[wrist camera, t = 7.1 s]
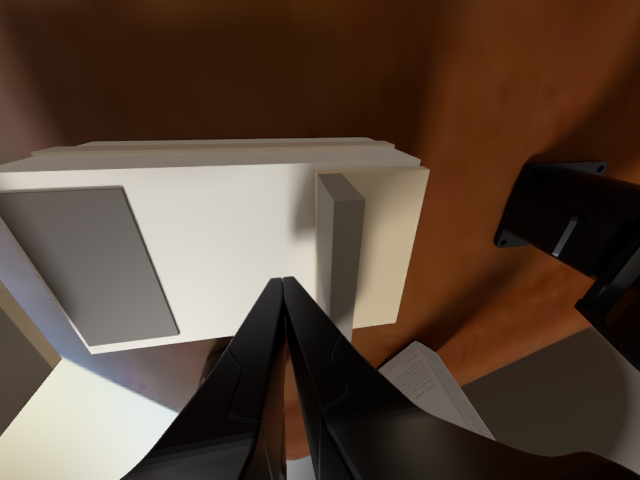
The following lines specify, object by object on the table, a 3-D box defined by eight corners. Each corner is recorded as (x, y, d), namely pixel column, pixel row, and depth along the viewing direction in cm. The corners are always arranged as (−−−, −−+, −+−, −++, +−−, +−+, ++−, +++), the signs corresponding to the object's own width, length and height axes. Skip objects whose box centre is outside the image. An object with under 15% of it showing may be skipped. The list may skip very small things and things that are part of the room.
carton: (368, 134, 14) (424, 155, 9) (356, 254, 18) (390, 316, 13) (91, 138, 12) (-43, 169, 7) (147, 272, 16) (88, 356, 11)
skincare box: (396, 382, 28) (469, 548, 18) (370, 371, 26) (436, 550, 16) (438, 350, 26) (547, 513, 16) (415, 335, 25) (521, 510, 14)
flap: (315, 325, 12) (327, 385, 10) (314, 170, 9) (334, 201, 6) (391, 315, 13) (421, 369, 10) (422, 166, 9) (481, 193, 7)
